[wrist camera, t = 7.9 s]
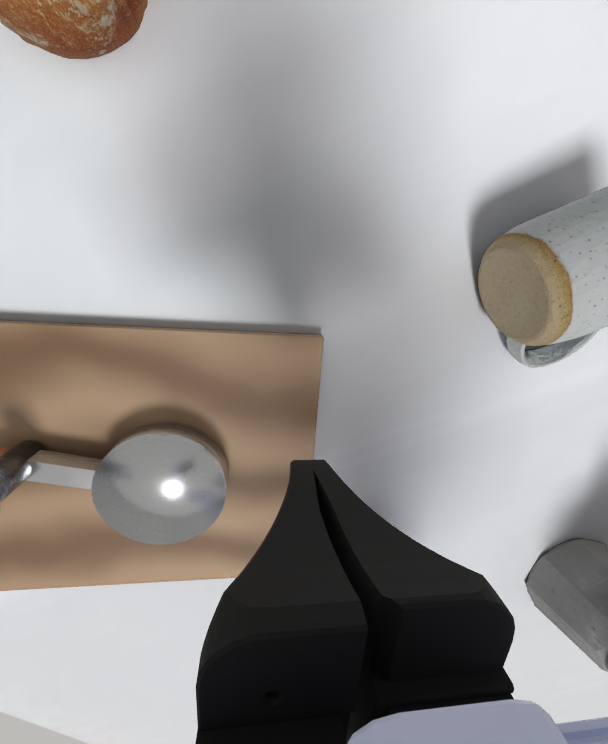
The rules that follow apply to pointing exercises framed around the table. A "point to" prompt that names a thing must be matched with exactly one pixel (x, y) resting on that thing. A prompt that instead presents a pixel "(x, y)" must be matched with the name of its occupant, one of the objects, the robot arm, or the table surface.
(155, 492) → the grey metal rounded piece
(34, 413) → the stand board
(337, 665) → the robot arm
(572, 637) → the coffeepot
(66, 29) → the bread roll
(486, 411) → the table surface
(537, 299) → the ceramic mug
